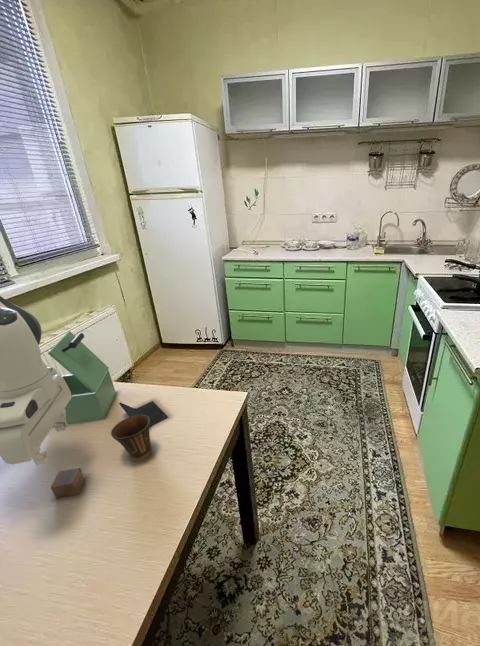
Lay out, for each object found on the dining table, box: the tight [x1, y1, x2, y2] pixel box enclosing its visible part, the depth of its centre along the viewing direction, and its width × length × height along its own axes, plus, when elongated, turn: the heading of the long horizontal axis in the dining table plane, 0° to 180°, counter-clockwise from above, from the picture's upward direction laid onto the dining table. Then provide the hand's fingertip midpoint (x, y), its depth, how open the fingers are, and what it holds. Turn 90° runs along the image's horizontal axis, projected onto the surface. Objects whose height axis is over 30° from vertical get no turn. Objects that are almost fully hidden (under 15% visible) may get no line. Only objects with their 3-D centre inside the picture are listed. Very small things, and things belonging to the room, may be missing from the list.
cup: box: [110, 415, 153, 463], centre depth 80 cm, size 9×9×10 cm
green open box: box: [54, 369, 117, 425], centre depth 96 cm, size 15×13×10 cm
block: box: [50, 467, 86, 499], centre depth 72 cm, size 4×4×4 cm
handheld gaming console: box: [118, 400, 169, 428], centre depth 93 cm, size 12×7×10 cm
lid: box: [47, 330, 110, 393], centre depth 91 cm, size 15×13×5 cm
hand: (53, 444), depth 68 cm, fingers open, 8 cm apart
